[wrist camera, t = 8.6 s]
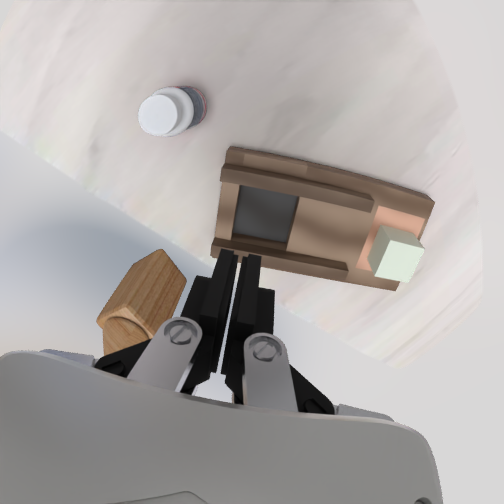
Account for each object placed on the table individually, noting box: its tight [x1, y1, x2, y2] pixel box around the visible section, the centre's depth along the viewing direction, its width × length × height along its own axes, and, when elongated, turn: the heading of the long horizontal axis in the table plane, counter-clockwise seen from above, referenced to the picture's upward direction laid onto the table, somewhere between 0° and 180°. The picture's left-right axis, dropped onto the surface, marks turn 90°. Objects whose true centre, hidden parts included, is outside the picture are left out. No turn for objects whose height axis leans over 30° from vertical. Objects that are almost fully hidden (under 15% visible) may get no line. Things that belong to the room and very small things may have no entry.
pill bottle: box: [138, 86, 207, 137], centre depth 28 cm, size 5×5×9 cm
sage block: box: [367, 225, 425, 283], centre depth 34 cm, size 5×5×4 cm
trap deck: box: [210, 146, 435, 291], centre depth 36 cm, size 14×26×4 cm, turn 80°
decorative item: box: [97, 249, 187, 356], centre depth 36 cm, size 7×7×20 cm
